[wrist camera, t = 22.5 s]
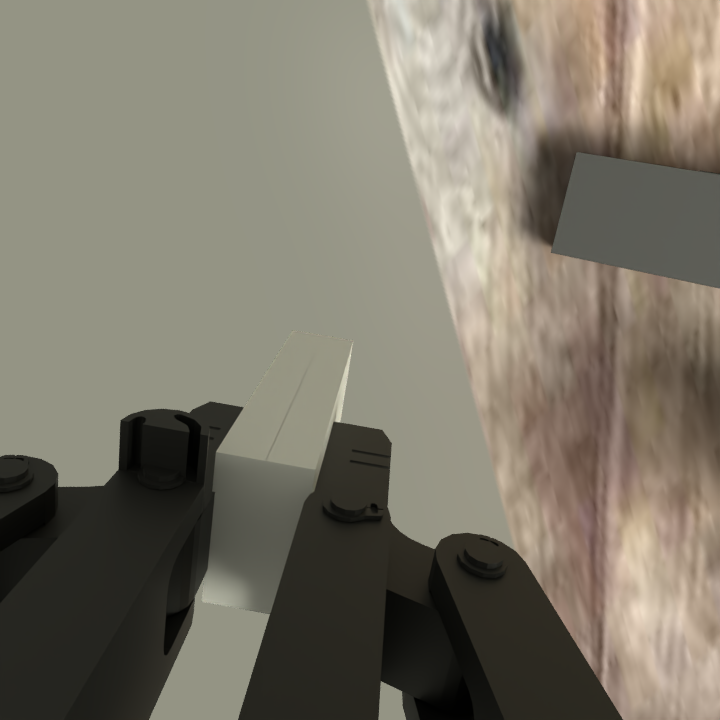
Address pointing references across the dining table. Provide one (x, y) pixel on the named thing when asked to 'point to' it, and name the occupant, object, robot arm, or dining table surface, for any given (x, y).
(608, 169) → the domino
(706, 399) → the dining table surface
